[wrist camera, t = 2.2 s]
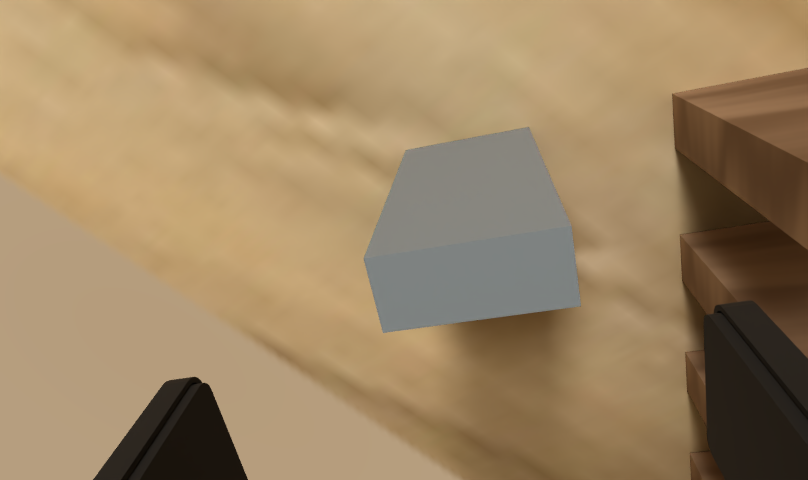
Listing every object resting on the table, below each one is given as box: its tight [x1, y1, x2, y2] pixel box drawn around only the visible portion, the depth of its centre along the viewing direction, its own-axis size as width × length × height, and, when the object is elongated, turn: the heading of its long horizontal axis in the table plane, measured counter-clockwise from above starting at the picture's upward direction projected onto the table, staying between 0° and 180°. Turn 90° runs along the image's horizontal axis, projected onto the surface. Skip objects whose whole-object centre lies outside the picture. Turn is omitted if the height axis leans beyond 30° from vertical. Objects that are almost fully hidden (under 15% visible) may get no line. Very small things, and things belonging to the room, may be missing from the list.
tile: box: [364, 127, 581, 333], centre depth 22 cm, size 2×6×12 cm, turn 102°
